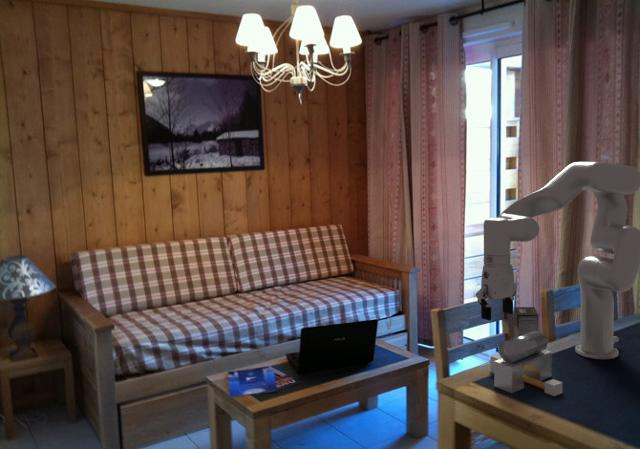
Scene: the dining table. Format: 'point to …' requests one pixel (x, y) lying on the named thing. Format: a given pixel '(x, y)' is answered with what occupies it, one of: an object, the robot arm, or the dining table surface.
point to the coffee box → (525, 320)
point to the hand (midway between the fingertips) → (497, 316)
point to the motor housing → (522, 361)
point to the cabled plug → (534, 380)
